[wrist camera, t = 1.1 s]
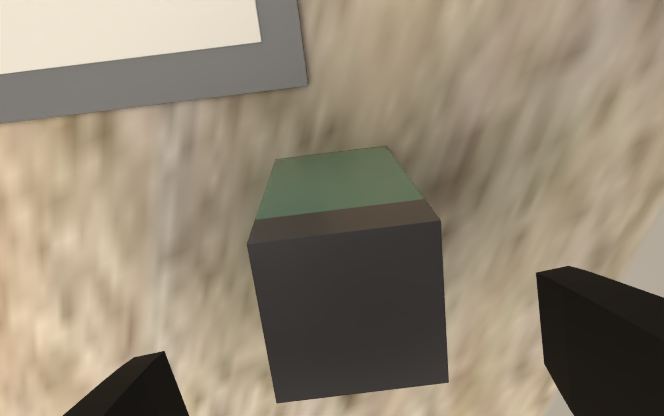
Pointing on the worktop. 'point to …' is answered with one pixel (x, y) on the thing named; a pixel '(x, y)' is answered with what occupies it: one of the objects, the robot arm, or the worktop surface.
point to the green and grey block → (348, 277)
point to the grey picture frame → (142, 53)
